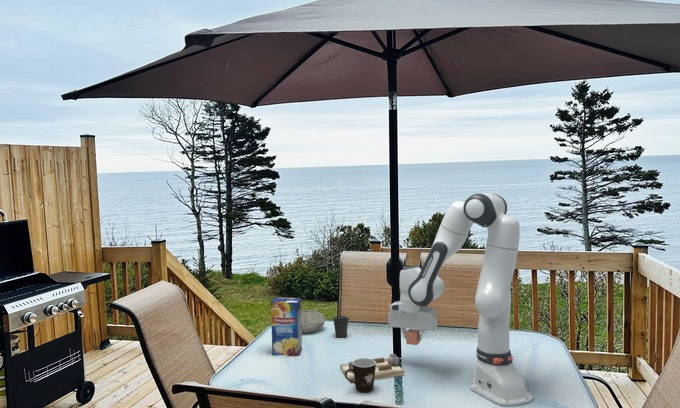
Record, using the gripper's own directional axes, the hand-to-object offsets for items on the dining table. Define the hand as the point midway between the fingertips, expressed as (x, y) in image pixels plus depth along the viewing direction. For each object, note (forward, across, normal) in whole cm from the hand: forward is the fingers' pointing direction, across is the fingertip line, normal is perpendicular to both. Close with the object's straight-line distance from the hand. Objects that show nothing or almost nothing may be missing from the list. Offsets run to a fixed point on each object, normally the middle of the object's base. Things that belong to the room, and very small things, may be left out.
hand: (413, 338), depth 199 cm
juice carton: (+9, +56, +10) cm, 58 cm away
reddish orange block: (+2, 0, 0) cm, 2 cm away
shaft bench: (+11, +13, +13) cm, 22 cm away
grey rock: (+9, +65, -21) cm, 69 cm away
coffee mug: (+11, +11, +29) cm, 33 cm away
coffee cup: (+10, +44, -19) cm, 49 cm away
